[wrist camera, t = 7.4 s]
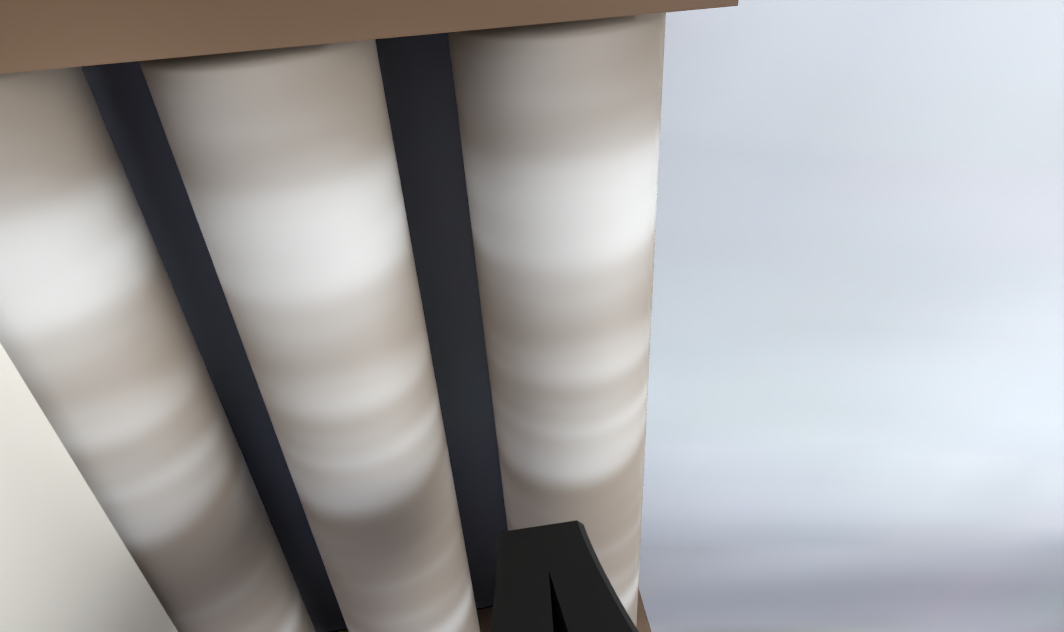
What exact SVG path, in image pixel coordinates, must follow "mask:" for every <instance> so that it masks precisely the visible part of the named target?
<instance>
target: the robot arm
mask: <svg viewBox="0 0 1064 632" xmlns="http://www.w3.org/2000/svg"><path fill="white" fill-rule="evenodd" d="M496 549H497V563H496V582H495V593H494V602H493V610H492V618H491V624H490V630H489V632H639V631H638V630H637V628H636V626H635V625H634V623H633V621H632V620H631V618H630V617H629V615H628V613H627V612H626V610H625V608H624V606H623V605H622V603H621V601H620V599H619V598H618V596H617V594H616V592H615V590H614V588H613V587H612V585H611V583H610V581H609V579H608V577H607V575H606V573H605V571H604V569H603V568H602V566H601V564H600V562H599V559H598V557H597V555H596V553H595V551H594V549H593V546H592V544H591V542H590V540H589V537H588V535H587V532H586V530H585V527H584V524H582V523H581V522H579V521H577V520H576V521H569V522H562V523H556V524H549V525H542V526H536V527H529V528H522V529H516V530H509V531H502V532H501V533H500V534H499V535H498V536H497V537H496Z"/></svg>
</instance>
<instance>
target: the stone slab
mask: <svg viewBox="0 0 1064 632" xmlns="http://www.w3.org/2000/svg"><path fill="white" fill-rule="evenodd" d="M0 632H178V631H177V629H176V628H175V626H174V624H173V623H172V621H171V620H170V618H169V616H168V615H167V613H166V611H165V610H164V608H163V607H162V605H161V603H160V602H159V600H158V598H157V597H156V595H155V594H154V592H153V590H152V589H151V587H150V585H149V584H148V582H147V581H146V579H145V577H144V576H143V574H142V572H141V571H140V569H139V568H138V566H137V564H136V563H135V561H134V559H133V558H132V556H131V554H130V553H129V551H128V550H127V548H126V546H125V545H124V543H123V541H122V540H121V538H120V537H119V535H118V533H117V532H116V530H115V528H114V527H113V525H112V524H111V522H110V520H109V519H108V517H107V515H106V514H105V512H104V511H103V509H102V507H101V506H100V504H99V502H98V501H97V499H96V498H95V496H94V494H93V493H92V491H91V489H90V488H89V486H88V485H87V483H86V481H85V480H84V478H83V476H82V475H81V473H80V472H79V470H78V468H77V467H76V465H75V463H74V462H73V460H72V459H71V457H70V455H69V454H68V452H67V450H66V449H65V447H64V446H63V444H62V442H61V441H60V439H59V437H58V436H57V434H56V432H55V431H54V429H53V428H52V426H51V424H50V423H49V421H48V419H47V418H46V416H45V415H44V413H43V411H42V410H41V408H40V406H39V405H38V403H37V402H36V400H35V398H34V397H33V395H32V393H31V392H30V390H29V389H28V387H27V385H26V384H25V382H24V380H23V379H22V377H21V376H20V374H19V372H18V371H17V369H16V367H15V366H14V364H13V363H12V361H11V359H10V358H9V356H8V354H7V353H6V351H5V350H4V348H3V346H2V345H1V343H0Z"/></svg>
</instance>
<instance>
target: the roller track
mask: <svg viewBox="0 0 1064 632" xmlns="http://www.w3.org/2000/svg"><path fill="white" fill-rule="evenodd" d="M729 6H738V0H0V343H1V345H2V346H3V348H4V350H5V351H6V353H7V354H8V356H9V358H10V359H11V361H12V363H13V364H14V366H15V367H16V369H17V371H18V372H19V374H20V376H21V377H22V379H23V380H24V382H25V384H26V385H27V387H28V389H29V390H30V392H31V393H32V395H33V397H34V398H35V400H36V402H37V403H38V405H39V406H40V408H41V410H42V411H43V413H44V415H45V416H46V418H47V419H48V421H49V423H50V424H51V426H52V428H53V429H54V431H55V432H56V434H57V436H58V437H59V439H60V441H61V442H62V444H63V446H64V447H65V449H66V450H67V452H68V454H69V455H70V457H71V459H72V460H73V462H74V463H75V465H76V467H77V468H78V470H79V472H80V473H81V475H82V476H83V478H84V480H85V481H86V483H87V485H88V486H89V488H90V489H91V491H92V493H93V494H94V496H95V498H96V499H97V501H98V502H99V504H100V506H101V507H102V509H103V511H104V512H105V514H106V515H107V517H108V519H109V520H110V522H111V524H112V525H113V527H114V528H115V530H116V532H117V533H118V535H119V537H120V538H121V540H122V541H123V543H124V545H125V546H126V548H127V550H128V551H129V553H130V554H131V556H132V558H133V559H134V561H135V563H136V564H137V566H138V568H139V569H140V571H141V572H142V574H143V576H144V577H145V579H146V581H147V582H148V584H149V585H150V587H151V589H152V590H153V592H154V594H155V595H156V597H157V598H158V600H159V602H160V603H161V605H162V607H163V608H164V610H165V611H166V613H167V615H168V616H169V618H170V620H171V621H172V623H173V624H174V626H175V628H176V629H177V631H178V632H316V630H315V628H314V626H313V623H312V621H311V618H310V616H309V614H308V611H307V609H306V606H305V604H304V602H303V599H302V597H301V594H300V592H299V589H298V587H297V585H296V582H295V580H294V577H293V575H292V573H291V570H290V568H289V565H288V563H287V561H286V558H285V556H284V553H283V551H282V549H281V546H280V544H279V541H278V539H277V536H276V534H275V532H274V529H273V527H272V524H271V522H270V520H269V517H268V515H267V512H266V510H265V508H264V505H263V503H262V500H261V498H260V496H259V493H258V491H257V488H256V486H255V483H254V481H253V479H252V476H251V474H250V471H249V469H248V467H247V464H246V462H245V459H244V457H243V455H242V452H241V450H240V447H239V445H238V443H237V440H236V438H235V435H234V433H233V430H232V428H231V426H230V423H229V421H228V418H227V416H226V414H225V411H224V409H223V406H222V404H221V402H220V399H219V397H218V394H217V392H216V390H215V387H214V385H213V382H212V380H211V377H210V375H209V373H208V370H207V368H206V365H205V363H204V361H203V358H202V356H201V353H200V351H199V349H198V346H197V344H196V341H195V339H194V337H193V334H192V332H191V329H190V327H189V324H188V322H187V320H186V317H185V315H184V312H183V310H182V308H181V305H180V303H179V300H178V298H177V296H176V293H175V291H174V288H173V286H172V284H171V281H170V279H169V276H168V274H167V271H166V269H165V267H164V264H163V262H162V259H161V257H160V255H159V252H158V250H157V247H156V245H155V243H154V240H153V238H152V235H151V233H150V231H149V228H148V226H147V223H146V221H145V218H144V216H143V214H142V211H141V209H140V206H139V204H138V202H137V199H136V197H135V194H134V192H133V190H132V187H131V185H130V182H129V180H128V178H127V175H126V173H125V170H124V168H123V166H122V163H121V161H120V158H119V156H118V153H117V151H116V149H115V146H114V144H113V141H112V139H111V137H110V134H109V132H108V129H107V127H106V125H105V122H104V120H103V117H102V115H101V113H100V110H99V108H98V105H97V103H96V100H95V98H94V96H93V93H92V91H91V88H90V86H89V84H88V81H87V79H86V76H85V74H84V72H83V69H82V67H81V66H91V65H102V64H112V63H123V62H134V61H139V63H140V66H141V69H142V71H143V74H144V77H145V79H146V82H147V85H148V88H149V90H150V93H151V96H152V98H153V101H154V104H155V107H156V109H157V112H158V115H159V117H160V120H161V123H162V126H163V128H164V131H165V134H166V136H167V139H168V142H169V145H170V147H171V150H172V153H173V156H174V158H175V161H176V164H177V166H178V169H179V172H180V175H181V177H182V180H183V183H184V185H185V188H186V191H187V194H188V196H189V199H190V202H191V204H192V207H193V210H194V213H195V215H196V218H197V221H198V223H199V226H200V229H201V232H202V234H203V237H204V240H205V242H206V245H207V248H208V251H209V253H210V256H211V259H212V262H213V264H214V267H215V270H216V272H217V275H218V278H219V281H220V283H221V286H222V289H223V291H224V294H225V297H226V300H227V302H228V305H229V308H230V310H231V313H232V316H233V319H234V321H235V324H236V327H237V329H238V332H239V335H240V338H241V340H242V343H243V346H244V348H245V351H246V354H247V357H248V359H249V362H250V365H251V368H252V370H253V373H254V376H255V378H256V381H257V384H258V387H259V389H260V392H261V395H262V397H263V400H264V403H265V406H266V408H267V411H268V414H269V416H270V419H271V422H272V425H273V427H274V430H275V433H276V435H277V438H278V441H279V444H280V446H281V449H282V452H283V454H284V457H285V460H286V463H287V465H288V468H289V471H290V474H291V476H292V479H293V482H294V484H295V487H296V490H297V493H298V495H299V498H300V501H301V503H302V506H303V509H304V512H305V514H306V517H307V520H308V522H309V525H310V528H311V531H312V533H313V536H314V539H315V541H316V544H317V547H318V550H319V552H320V555H321V558H322V560H323V563H324V566H325V569H326V571H327V574H328V577H329V580H330V582H331V585H332V588H333V590H334V593H335V596H336V599H337V601H338V604H339V607H340V609H341V612H342V615H343V618H344V620H345V623H346V626H347V628H348V630H344V631H338V632H489V630H490V624H491V618H492V610H493V607H490V608H484V609H478V610H476V605H475V599H474V593H473V588H472V582H471V577H470V571H469V565H468V560H467V554H466V548H465V543H464V537H463V531H462V526H461V520H460V515H459V509H458V503H457V498H456V492H455V486H454V481H453V475H452V470H451V464H450V458H449V453H448V447H447V441H446V436H445V430H444V425H443V419H442V413H441V408H440V402H439V396H438V391H437V385H436V380H435V374H434V368H433V363H432V357H431V351H430V346H429V340H428V334H427V329H426V323H425V318H424V312H423V306H422V301H421V295H420V289H419V284H418V278H417V273H416V267H415V261H414V256H413V250H412V244H411V239H410V233H409V228H408V222H407V216H406V211H405V205H404V199H403V194H402V188H401V183H400V177H399V171H398V166H397V160H396V154H395V149H394V143H393V138H392V132H391V126H390V121H389V115H388V109H387V104H386V98H385V92H384V87H383V81H382V76H381V70H380V64H379V59H378V53H377V47H376V42H375V39H383V38H394V37H404V36H415V35H426V34H437V33H448V37H449V45H450V53H451V62H452V70H453V78H454V87H455V95H456V103H457V112H458V120H459V128H460V137H461V145H462V153H463V162H464V170H465V178H466V186H467V195H468V203H469V211H470V220H471V228H472V236H473V245H474V253H475V261H476V270H477V278H478V286H479V295H480V303H481V311H482V320H483V328H484V336H485V344H486V353H487V361H488V369H489V378H490V386H491V394H492V403H493V411H494V419H495V428H496V436H497V444H498V453H499V461H500V469H501V478H502V486H503V494H504V502H505V511H506V519H507V527H508V531H509V530H516V529H522V528H529V527H536V526H542V525H549V524H556V523H562V522H569V521H576V520H577V521H579V522H581V523H582V524H584V527H585V530H586V532H587V535H588V537H589V540H590V542H591V544H592V546H593V549H594V551H595V553H596V555H597V557H598V559H599V562H600V564H601V566H602V568H603V569H604V571H605V573H606V575H607V577H608V579H609V581H610V583H611V585H612V587H613V588H614V590H615V592H616V594H617V596H618V598H619V599H620V601H621V603H622V605H623V606H624V608H625V610H626V612H627V613H628V615H629V617H630V618H631V620H632V621H633V623H634V625H635V626H636V628H637V630H638V631H639V632H651V629H650V626H649V622H648V619H647V616H646V612H645V609H644V605H643V602H642V599H641V595H640V592H639V588H638V583H639V562H640V541H641V520H642V499H643V478H644V457H645V436H646V415H647V394H648V373H649V352H650V331H651V310H652V289H653V268H654V247H655V226H656V205H657V184H658V163H659V143H660V122H661V101H662V80H663V59H664V38H665V17H666V12H675V11H686V10H696V9H707V8H718V7H729Z"/></svg>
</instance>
